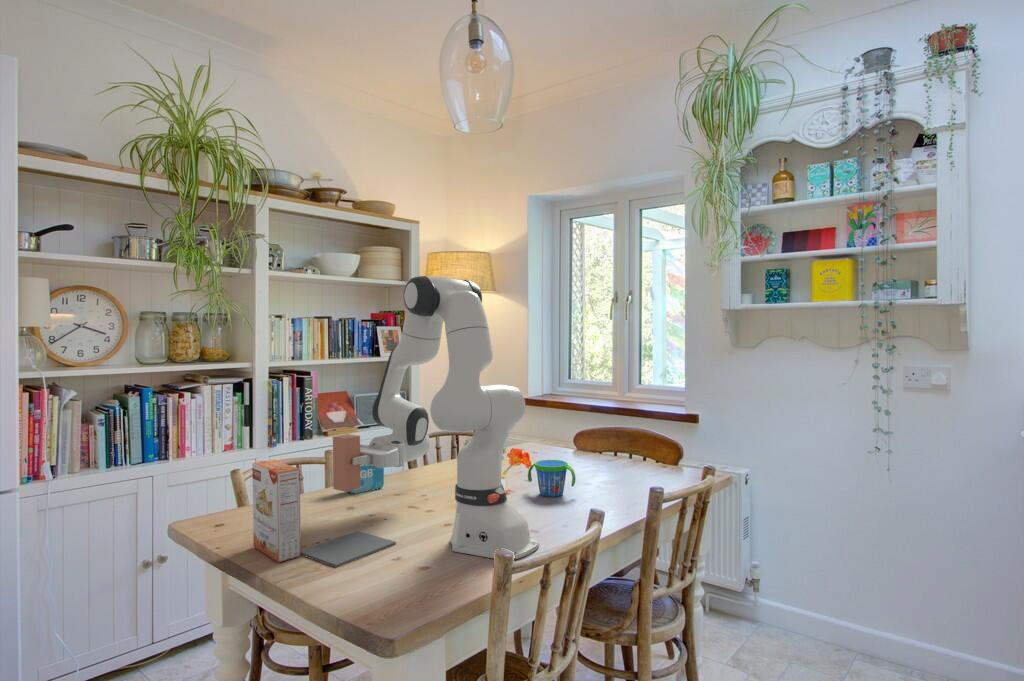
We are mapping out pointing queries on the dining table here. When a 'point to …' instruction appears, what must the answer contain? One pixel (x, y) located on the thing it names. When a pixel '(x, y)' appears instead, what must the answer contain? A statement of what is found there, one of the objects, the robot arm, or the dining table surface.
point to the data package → (370, 478)
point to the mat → (346, 548)
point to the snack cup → (551, 476)
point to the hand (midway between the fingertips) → (344, 460)
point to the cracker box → (276, 509)
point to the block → (346, 462)
